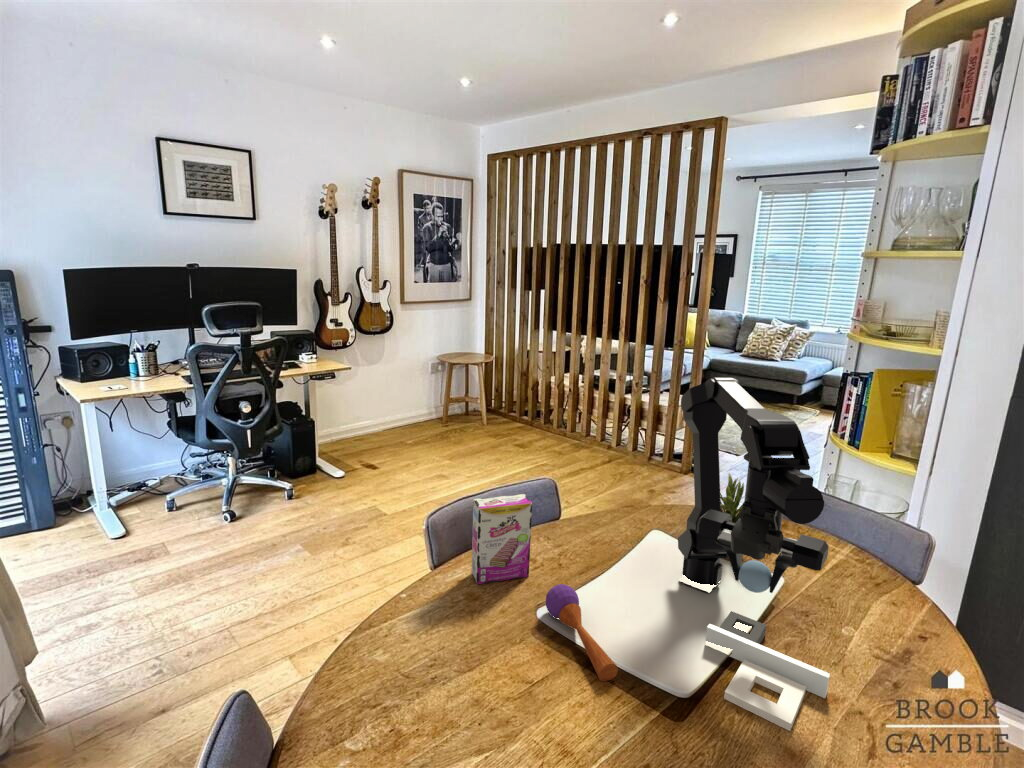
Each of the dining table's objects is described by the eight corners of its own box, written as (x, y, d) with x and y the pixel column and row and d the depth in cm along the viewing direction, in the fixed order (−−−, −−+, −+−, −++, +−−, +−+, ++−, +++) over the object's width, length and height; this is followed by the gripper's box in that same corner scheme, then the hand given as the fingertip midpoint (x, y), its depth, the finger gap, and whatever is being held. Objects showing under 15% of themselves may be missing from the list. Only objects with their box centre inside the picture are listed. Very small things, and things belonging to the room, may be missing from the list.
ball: (733, 591, 90) (736, 563, 90) (742, 578, 94) (745, 551, 93) (765, 602, 87) (769, 573, 86) (773, 589, 91) (777, 561, 90)
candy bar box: (477, 586, 109) (478, 508, 105) (471, 573, 113) (471, 498, 110) (530, 577, 112) (533, 502, 109) (522, 565, 117) (524, 492, 114)
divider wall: (705, 645, 93) (706, 626, 92) (707, 641, 94) (709, 623, 93) (825, 698, 82) (828, 678, 81) (826, 693, 83) (830, 673, 82)
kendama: (589, 665, 83) (538, 583, 101) (592, 694, 85) (542, 610, 103) (624, 650, 84) (568, 573, 102) (626, 680, 86) (571, 599, 104)
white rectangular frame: (724, 698, 82) (724, 691, 81) (743, 666, 88) (744, 659, 88) (790, 731, 76) (791, 723, 76) (805, 693, 83) (806, 686, 83)
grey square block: (718, 637, 95) (719, 627, 95) (730, 620, 100) (731, 610, 99) (754, 652, 92) (756, 642, 91) (765, 635, 96) (766, 624, 96)
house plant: (687, 526, 137) (693, 463, 133) (746, 531, 135) (753, 467, 131) (698, 555, 123) (705, 485, 119) (763, 561, 121) (772, 490, 118)
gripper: (687, 495, 87) (679, 585, 90) (820, 531, 76) (806, 633, 79) (712, 476, 96) (704, 559, 99) (835, 506, 84) (821, 599, 87)
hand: (754, 585), depth 91 cm, fingers closed on ball, 5 cm apart
